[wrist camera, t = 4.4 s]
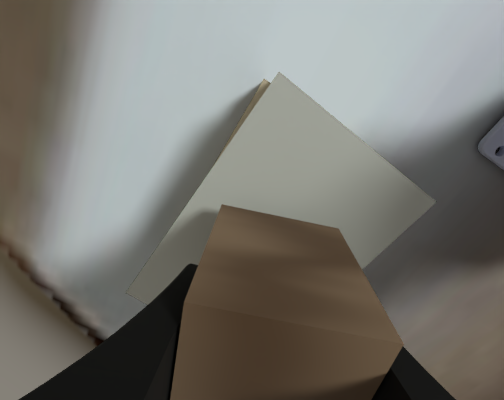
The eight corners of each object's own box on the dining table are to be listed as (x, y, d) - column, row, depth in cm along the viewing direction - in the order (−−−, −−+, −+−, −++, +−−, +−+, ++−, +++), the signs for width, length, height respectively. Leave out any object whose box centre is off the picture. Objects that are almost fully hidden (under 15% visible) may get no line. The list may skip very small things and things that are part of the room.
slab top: (405, 182, 13) (436, 202, 11) (258, 328, 17) (257, 366, 14) (275, 76, 11) (279, 71, 9) (146, 262, 15) (125, 292, 13)
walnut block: (338, 228, 10) (404, 344, 5) (305, 317, 12) (333, 464, 7) (221, 204, 10) (184, 302, 5) (205, 297, 11) (165, 434, 7)
